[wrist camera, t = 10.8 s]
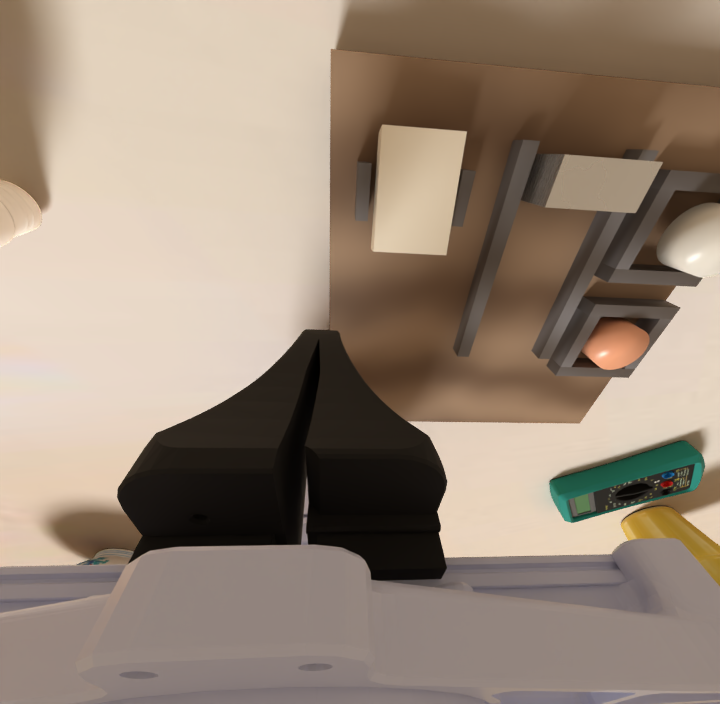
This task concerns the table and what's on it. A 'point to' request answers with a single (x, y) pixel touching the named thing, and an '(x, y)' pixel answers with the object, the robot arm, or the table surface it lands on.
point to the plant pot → (674, 534)
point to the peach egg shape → (615, 343)
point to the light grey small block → (589, 182)
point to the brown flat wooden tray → (507, 234)
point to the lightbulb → (16, 212)
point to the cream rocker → (415, 189)
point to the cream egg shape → (693, 241)
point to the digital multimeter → (628, 482)
